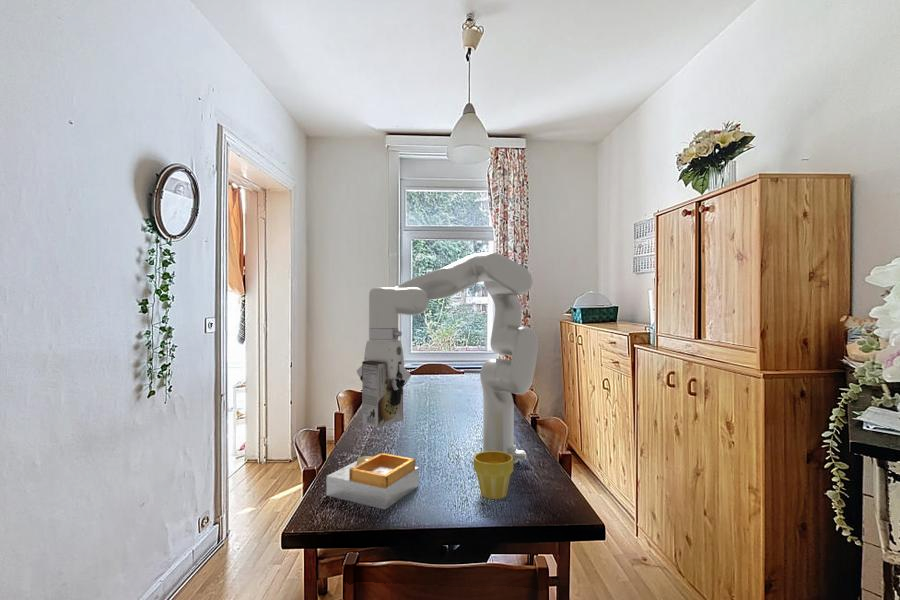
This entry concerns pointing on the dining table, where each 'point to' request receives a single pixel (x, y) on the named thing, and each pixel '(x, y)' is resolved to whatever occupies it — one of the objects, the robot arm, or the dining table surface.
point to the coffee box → (378, 396)
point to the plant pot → (493, 473)
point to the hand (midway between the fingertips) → (382, 402)
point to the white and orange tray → (374, 480)
